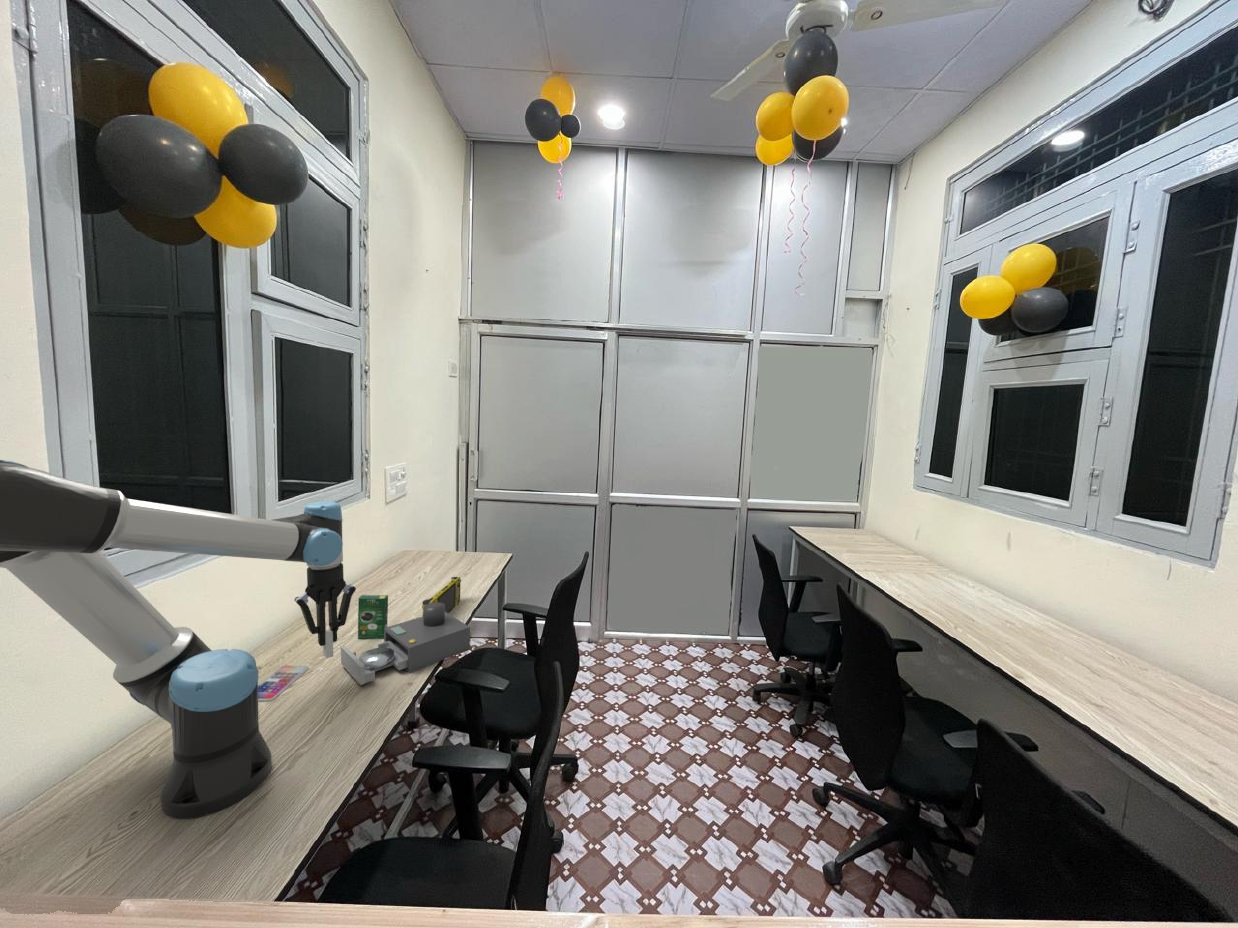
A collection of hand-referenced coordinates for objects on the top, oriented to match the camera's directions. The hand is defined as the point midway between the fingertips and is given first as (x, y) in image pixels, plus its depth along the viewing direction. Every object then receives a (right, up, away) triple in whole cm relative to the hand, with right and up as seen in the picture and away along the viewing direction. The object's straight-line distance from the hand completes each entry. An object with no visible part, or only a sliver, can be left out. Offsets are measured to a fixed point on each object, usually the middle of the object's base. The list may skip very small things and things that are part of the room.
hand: (328, 655), depth 113 cm
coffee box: (-3, -6, +26) cm, 27 cm away
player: (+17, -7, +20) cm, 27 cm away
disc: (+7, -6, +9) cm, 13 cm away
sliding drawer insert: (+9, -6, +11) cm, 15 cm away
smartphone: (-13, -8, +1) cm, 16 cm away
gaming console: (+12, -5, +44) cm, 46 cm away
